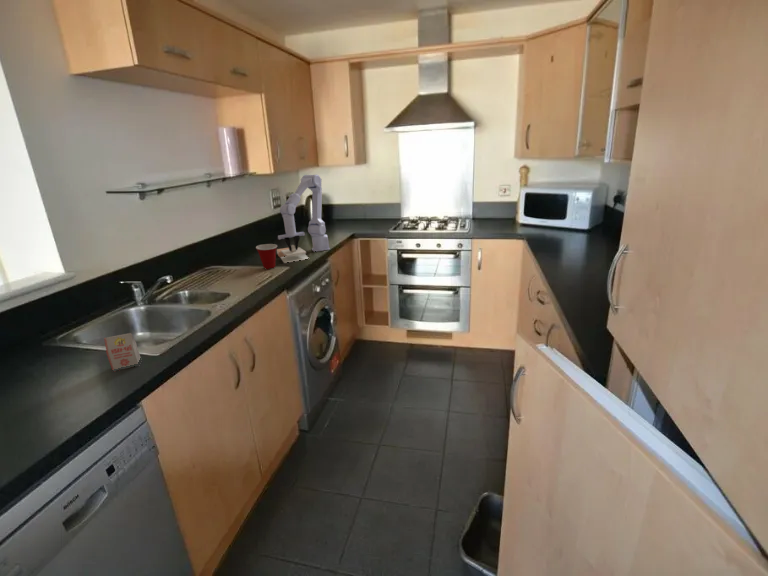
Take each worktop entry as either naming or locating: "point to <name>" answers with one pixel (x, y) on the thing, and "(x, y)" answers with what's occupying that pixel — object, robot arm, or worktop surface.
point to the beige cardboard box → (122, 351)
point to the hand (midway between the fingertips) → (293, 250)
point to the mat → (294, 258)
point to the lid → (293, 251)
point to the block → (281, 252)
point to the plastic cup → (267, 255)
